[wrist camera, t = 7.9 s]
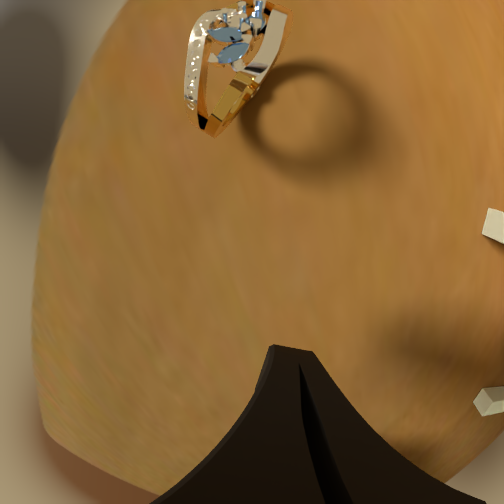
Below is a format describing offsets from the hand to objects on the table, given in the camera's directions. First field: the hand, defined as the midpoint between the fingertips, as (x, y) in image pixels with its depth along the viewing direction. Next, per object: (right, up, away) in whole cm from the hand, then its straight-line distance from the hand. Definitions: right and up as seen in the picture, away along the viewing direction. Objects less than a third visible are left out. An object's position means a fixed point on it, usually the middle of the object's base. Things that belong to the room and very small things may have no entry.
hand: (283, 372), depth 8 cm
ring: (-1, +13, +6) cm, 14 cm away
